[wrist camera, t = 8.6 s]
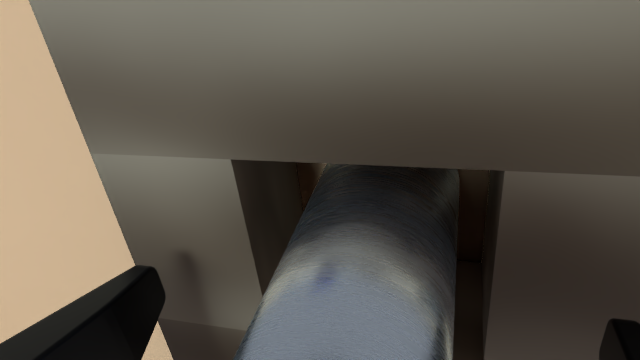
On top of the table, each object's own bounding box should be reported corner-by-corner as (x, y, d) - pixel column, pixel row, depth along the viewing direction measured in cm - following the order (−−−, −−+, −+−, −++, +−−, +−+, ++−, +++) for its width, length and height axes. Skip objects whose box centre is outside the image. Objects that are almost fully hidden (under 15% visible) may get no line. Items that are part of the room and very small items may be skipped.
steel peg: (456, 238, 14) (442, 573, 7) (333, 228, 15) (224, 518, 8) (462, 122, 12) (451, 437, 5) (320, 120, 13) (167, 385, 6)
